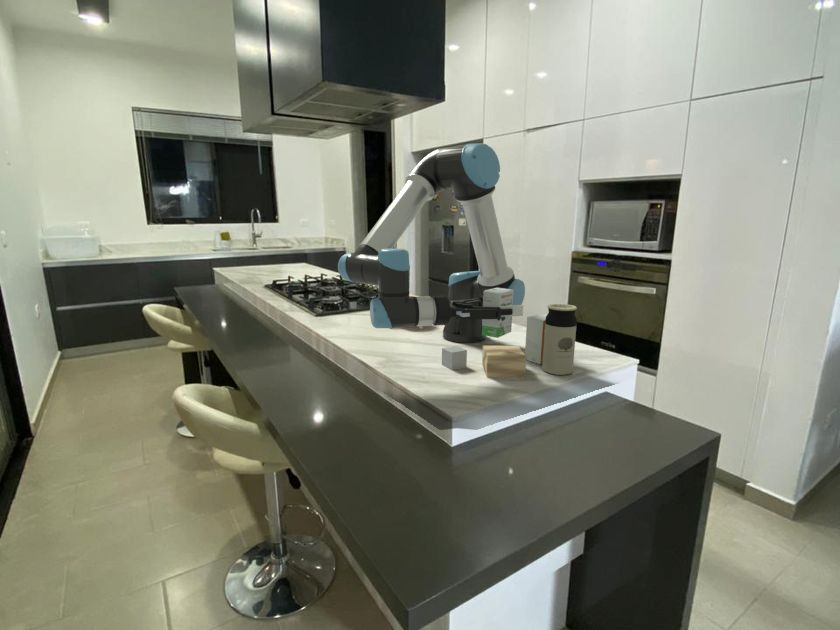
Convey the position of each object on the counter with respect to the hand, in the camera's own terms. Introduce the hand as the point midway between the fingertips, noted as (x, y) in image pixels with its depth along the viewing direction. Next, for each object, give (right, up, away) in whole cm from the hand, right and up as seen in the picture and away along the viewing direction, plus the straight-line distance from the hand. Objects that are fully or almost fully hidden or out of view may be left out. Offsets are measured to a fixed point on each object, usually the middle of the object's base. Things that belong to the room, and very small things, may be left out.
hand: (513, 306), depth 119 cm
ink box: (-5, -7, 0) cm, 9 cm away
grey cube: (-15, -17, +8) cm, 24 cm away
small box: (+11, -16, +13) cm, 23 cm away
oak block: (-2, -18, +3) cm, 18 cm away
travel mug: (+13, -18, +4) cm, 22 cm away
